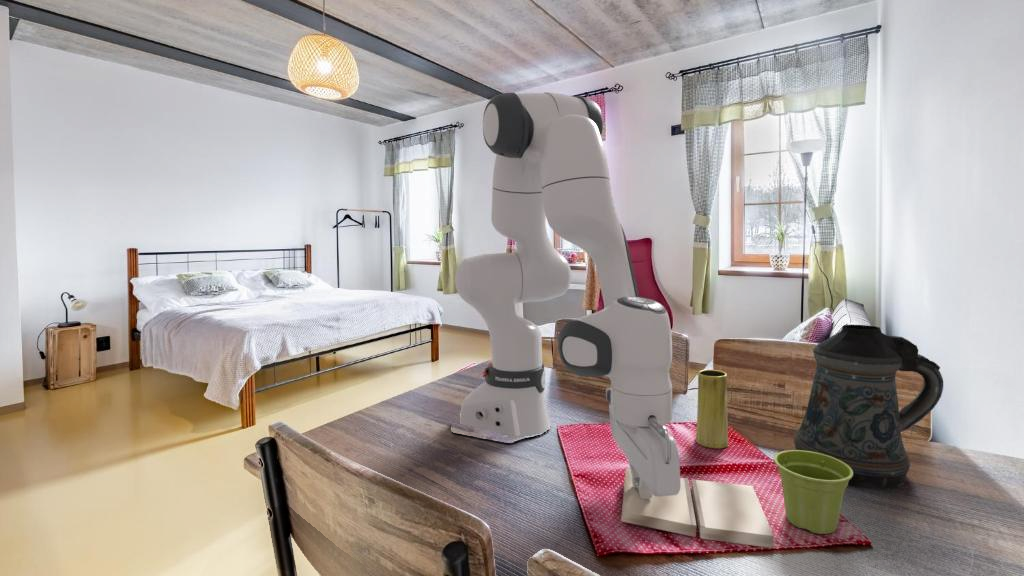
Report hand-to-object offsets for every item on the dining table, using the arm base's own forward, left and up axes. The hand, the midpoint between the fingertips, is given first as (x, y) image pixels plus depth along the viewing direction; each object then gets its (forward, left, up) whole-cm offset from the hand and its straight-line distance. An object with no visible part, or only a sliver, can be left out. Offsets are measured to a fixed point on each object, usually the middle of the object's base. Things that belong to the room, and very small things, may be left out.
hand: (641, 492), depth 72 cm
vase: (+13, +27, -3) cm, 30 cm away
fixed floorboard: (+12, +1, -2) cm, 13 cm away
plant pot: (+23, +2, -3) cm, 23 cm away
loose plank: (+2, +1, -2) cm, 3 cm away
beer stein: (+36, +22, -3) cm, 42 cm away
